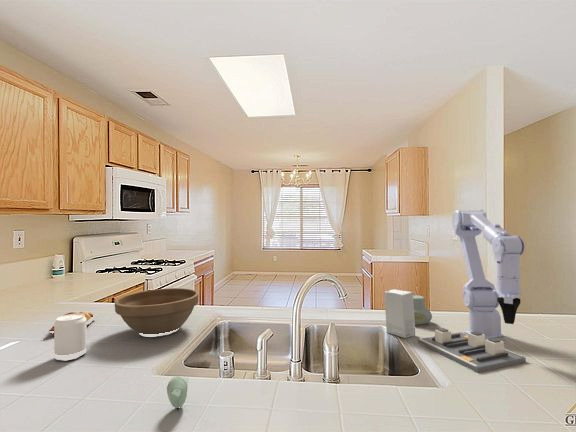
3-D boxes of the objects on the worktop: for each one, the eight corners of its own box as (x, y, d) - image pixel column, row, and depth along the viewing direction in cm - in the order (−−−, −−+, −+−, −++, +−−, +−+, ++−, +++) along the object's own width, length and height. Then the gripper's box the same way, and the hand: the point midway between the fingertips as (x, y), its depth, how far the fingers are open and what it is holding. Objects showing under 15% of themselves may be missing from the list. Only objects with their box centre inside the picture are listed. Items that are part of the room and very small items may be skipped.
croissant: (89, 328, 137) (81, 311, 138) (108, 317, 136) (100, 300, 136) (44, 347, 116) (35, 326, 117) (66, 334, 115) (57, 313, 115)
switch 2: (494, 350, 97) (494, 337, 97) (503, 354, 94) (503, 340, 94) (485, 352, 96) (485, 338, 96) (494, 356, 93) (494, 342, 93)
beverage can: (92, 354, 101) (92, 314, 102) (65, 364, 94) (65, 322, 94) (75, 349, 105) (75, 312, 105) (48, 359, 98) (48, 319, 98)
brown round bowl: (95, 341, 112) (95, 302, 113) (153, 317, 139) (153, 285, 140) (164, 350, 104) (164, 308, 104) (213, 322, 131) (212, 289, 131)
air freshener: (401, 324, 126) (400, 298, 126) (402, 318, 134) (402, 293, 134) (432, 327, 122) (431, 300, 122) (431, 321, 129) (431, 295, 130)
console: (460, 335, 113) (460, 329, 113) (525, 361, 92) (525, 354, 92) (417, 342, 107) (417, 336, 107) (476, 372, 86) (476, 364, 86)
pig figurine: (181, 419, 68) (181, 386, 68) (161, 420, 67) (161, 386, 68) (191, 398, 76) (191, 368, 76) (173, 398, 75) (173, 368, 76)
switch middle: (476, 343, 103) (476, 330, 103) (485, 346, 100) (484, 333, 100) (467, 344, 102) (467, 331, 102) (476, 348, 99) (476, 335, 99)
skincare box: (415, 335, 114) (415, 292, 114) (404, 339, 110) (403, 294, 111) (395, 328, 121) (395, 288, 121) (384, 332, 117) (383, 290, 118)
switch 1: (443, 339, 106) (443, 327, 106) (451, 342, 103) (451, 330, 103) (435, 340, 105) (435, 328, 105) (442, 344, 102) (442, 331, 102)
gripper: (493, 272, 105) (494, 314, 105) (491, 279, 94) (491, 327, 93) (520, 274, 102) (521, 318, 101) (521, 281, 90) (522, 332, 89)
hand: (509, 323), depth 97 cm, fingers closed
